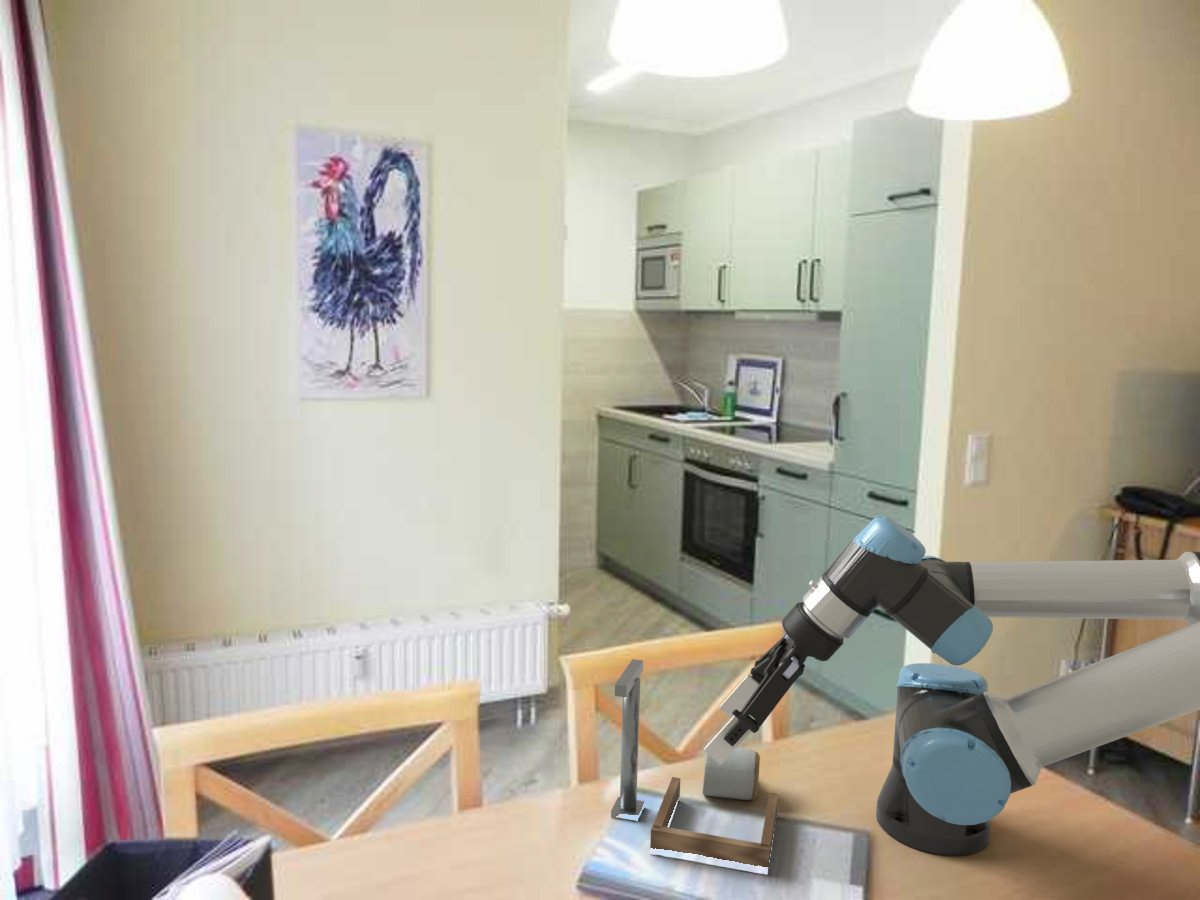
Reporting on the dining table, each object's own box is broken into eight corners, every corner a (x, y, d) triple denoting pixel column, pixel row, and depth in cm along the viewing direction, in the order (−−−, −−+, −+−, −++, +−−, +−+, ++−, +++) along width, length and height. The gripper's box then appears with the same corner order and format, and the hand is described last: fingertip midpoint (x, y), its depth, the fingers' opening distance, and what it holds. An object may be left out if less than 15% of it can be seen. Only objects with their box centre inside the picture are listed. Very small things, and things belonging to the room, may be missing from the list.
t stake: (646, 802, 129) (651, 661, 127) (630, 839, 120) (635, 687, 117) (620, 798, 130) (624, 658, 128) (602, 834, 121) (606, 683, 118)
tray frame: (776, 816, 126) (778, 793, 126) (767, 875, 112) (769, 850, 112) (671, 799, 130) (672, 776, 130) (650, 854, 116) (650, 829, 116)
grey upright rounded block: (758, 810, 128) (760, 760, 127) (701, 804, 129) (703, 754, 128) (757, 776, 138) (759, 729, 137) (704, 771, 140) (706, 725, 139)
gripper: (804, 576, 125) (712, 681, 130) (793, 630, 101) (681, 756, 106) (846, 611, 124) (751, 715, 129) (846, 674, 100) (730, 798, 105)
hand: (719, 734), depth 118 cm, fingers open, 13 cm apart
